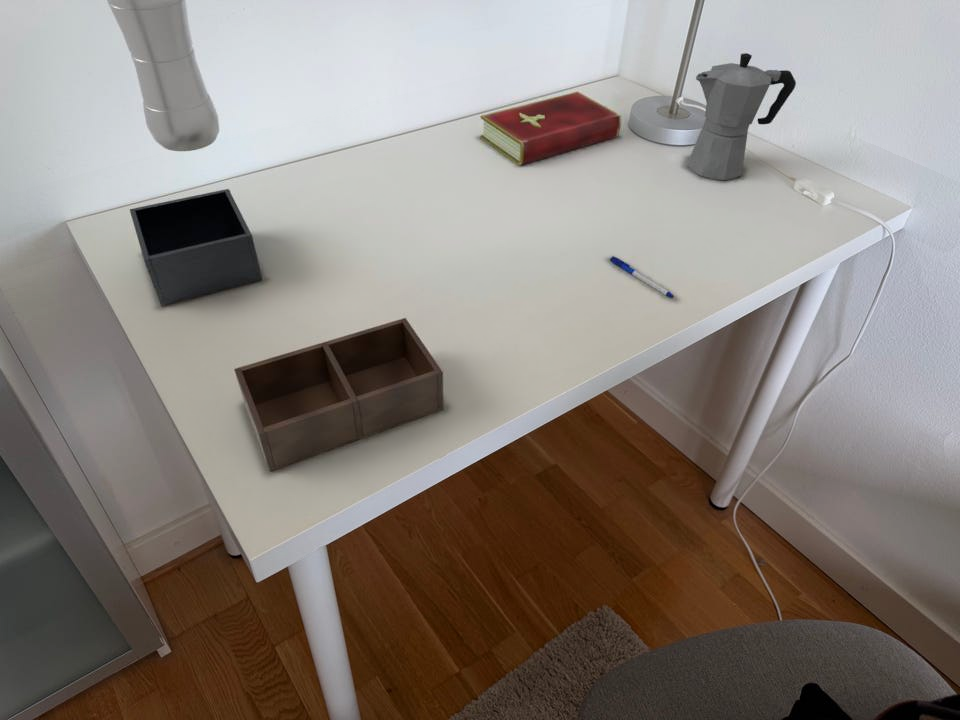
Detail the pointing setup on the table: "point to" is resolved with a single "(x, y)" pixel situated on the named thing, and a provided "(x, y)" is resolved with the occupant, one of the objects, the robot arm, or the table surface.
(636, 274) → the ballpoint pen
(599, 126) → the hardcover book
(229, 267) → the dark grey open box
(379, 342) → the divided box
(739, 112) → the coffeepot
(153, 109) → the silver metal bottle
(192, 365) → the table surface
